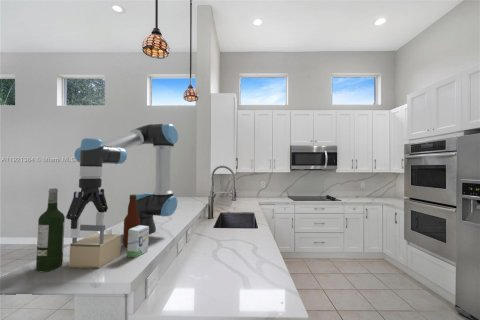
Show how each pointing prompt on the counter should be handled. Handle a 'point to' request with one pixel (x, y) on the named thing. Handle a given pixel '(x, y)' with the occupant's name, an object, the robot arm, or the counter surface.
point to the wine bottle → (50, 236)
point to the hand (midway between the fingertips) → (88, 232)
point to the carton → (94, 254)
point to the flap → (94, 236)
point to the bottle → (130, 218)
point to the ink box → (137, 241)
